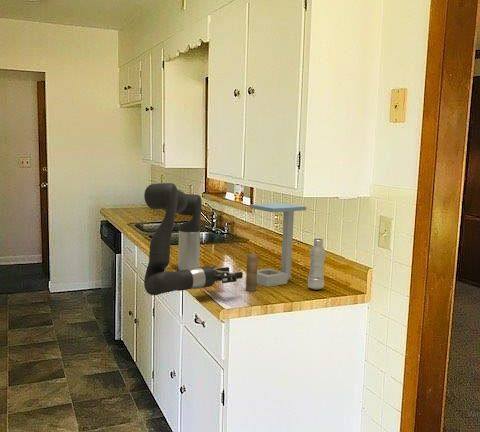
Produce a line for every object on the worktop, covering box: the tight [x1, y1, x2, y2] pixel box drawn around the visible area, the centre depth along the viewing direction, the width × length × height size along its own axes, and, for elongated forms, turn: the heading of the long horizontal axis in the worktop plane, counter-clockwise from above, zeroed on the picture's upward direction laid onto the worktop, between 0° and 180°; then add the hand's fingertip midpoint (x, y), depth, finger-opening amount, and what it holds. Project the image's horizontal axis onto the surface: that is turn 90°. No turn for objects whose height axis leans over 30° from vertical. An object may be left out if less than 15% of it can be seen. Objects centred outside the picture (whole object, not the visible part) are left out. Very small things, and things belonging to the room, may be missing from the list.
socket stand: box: [249, 202, 307, 288], centre depth 215 cm, size 18×14×32 cm
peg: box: [245, 253, 259, 292], centre depth 201 cm, size 4×4×14 cm
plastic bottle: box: [307, 238, 327, 290], centre depth 206 cm, size 6×7×20 cm
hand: (235, 272), depth 196 cm, fingers open, 8 cm apart
